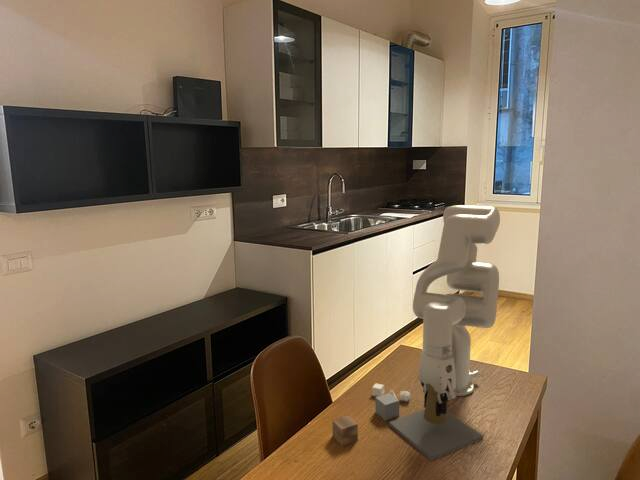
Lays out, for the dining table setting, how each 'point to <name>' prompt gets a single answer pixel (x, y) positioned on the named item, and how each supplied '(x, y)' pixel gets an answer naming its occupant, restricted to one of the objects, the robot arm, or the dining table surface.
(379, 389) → the game pieces
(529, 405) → the dining table surface
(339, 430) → the walnut block
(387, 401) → the slate-grey block
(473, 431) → the mat
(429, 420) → the olive lobed rounded piece
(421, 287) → the robot arm
